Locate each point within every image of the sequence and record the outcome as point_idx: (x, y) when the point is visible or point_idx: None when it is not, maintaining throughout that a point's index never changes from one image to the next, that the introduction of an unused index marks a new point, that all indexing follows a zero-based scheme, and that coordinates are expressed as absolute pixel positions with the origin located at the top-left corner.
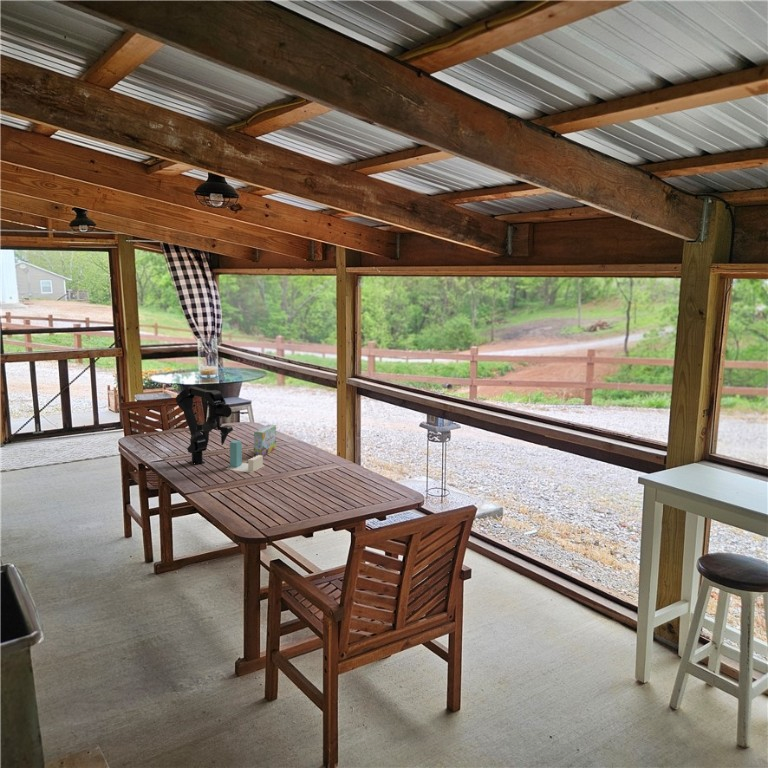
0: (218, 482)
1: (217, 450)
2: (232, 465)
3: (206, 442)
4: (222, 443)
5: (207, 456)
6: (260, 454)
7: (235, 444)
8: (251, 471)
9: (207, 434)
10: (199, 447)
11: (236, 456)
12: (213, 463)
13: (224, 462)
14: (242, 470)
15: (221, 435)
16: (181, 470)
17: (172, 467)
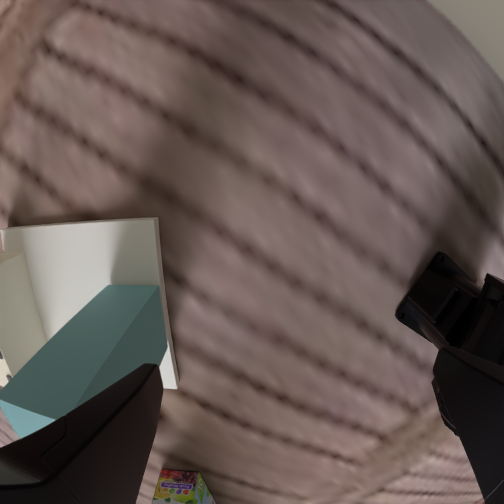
0: (79, 11)
1: (402, 468)
2: (136, 288)
3: (450, 347)
4: (131, 377)
5: (421, 405)
6: (162, 481)
7: (13, 389)
8: (9, 248)
9: (501, 456)
10: (483, 320)
11: (69, 320)
12: (341, 333)
13: (285, 376)
14: (48, 242)
15: (32, 477)
16: (439, 108)
17: (500, 154)
